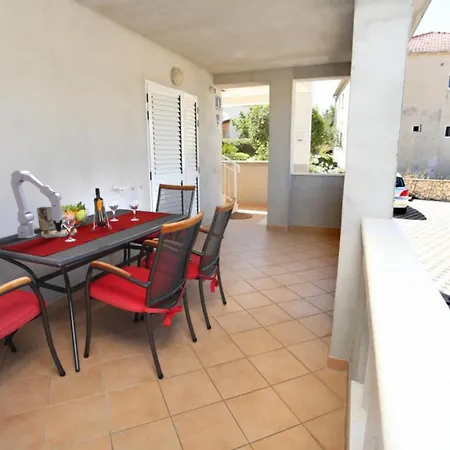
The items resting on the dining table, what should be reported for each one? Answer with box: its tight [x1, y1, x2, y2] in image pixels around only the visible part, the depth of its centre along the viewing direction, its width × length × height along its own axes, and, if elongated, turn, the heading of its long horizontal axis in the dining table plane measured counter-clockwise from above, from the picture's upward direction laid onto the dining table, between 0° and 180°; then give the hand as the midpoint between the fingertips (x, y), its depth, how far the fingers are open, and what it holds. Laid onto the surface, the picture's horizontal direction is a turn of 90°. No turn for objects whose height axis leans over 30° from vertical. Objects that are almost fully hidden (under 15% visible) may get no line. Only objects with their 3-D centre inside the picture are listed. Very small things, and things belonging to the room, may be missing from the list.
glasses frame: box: [43, 232, 75, 239], centre depth 229 cm, size 18×4×6 cm, turn 116°
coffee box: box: [36, 206, 56, 231], centre depth 248 cm, size 9×6×16 cm
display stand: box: [40, 225, 78, 237], centre depth 237 cm, size 22×10×4 cm, turn 116°
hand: (59, 231), depth 229 cm, fingers closed on glasses frame, 2 cm apart
